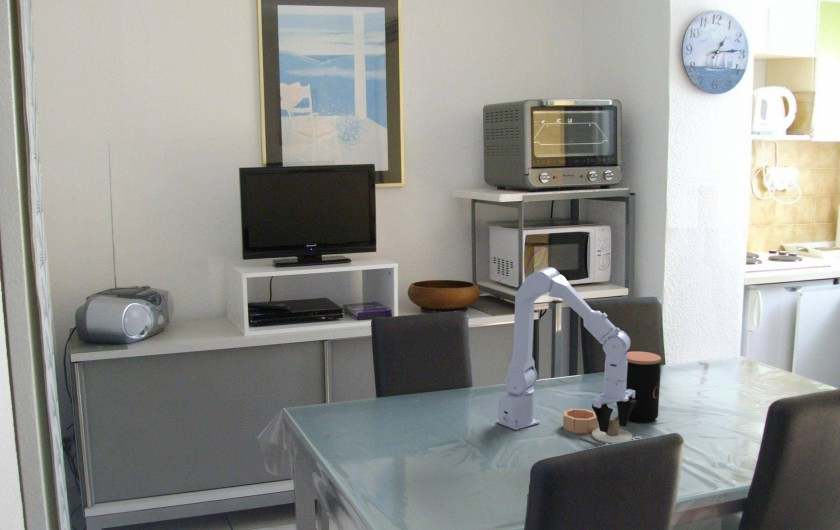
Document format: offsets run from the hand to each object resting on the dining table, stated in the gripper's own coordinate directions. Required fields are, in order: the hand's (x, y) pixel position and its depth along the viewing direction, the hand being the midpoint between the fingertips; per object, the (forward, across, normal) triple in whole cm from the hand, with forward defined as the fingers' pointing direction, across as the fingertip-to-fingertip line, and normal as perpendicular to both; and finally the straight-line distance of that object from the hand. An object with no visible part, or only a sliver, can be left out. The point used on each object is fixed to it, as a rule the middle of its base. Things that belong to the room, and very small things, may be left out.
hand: (613, 428), depth 224 cm
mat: (+3, 0, 0) cm, 3 cm away
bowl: (+3, -1, +10) cm, 11 cm away
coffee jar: (+3, +19, +6) cm, 20 cm away
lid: (+2, 0, 0) cm, 2 cm away
